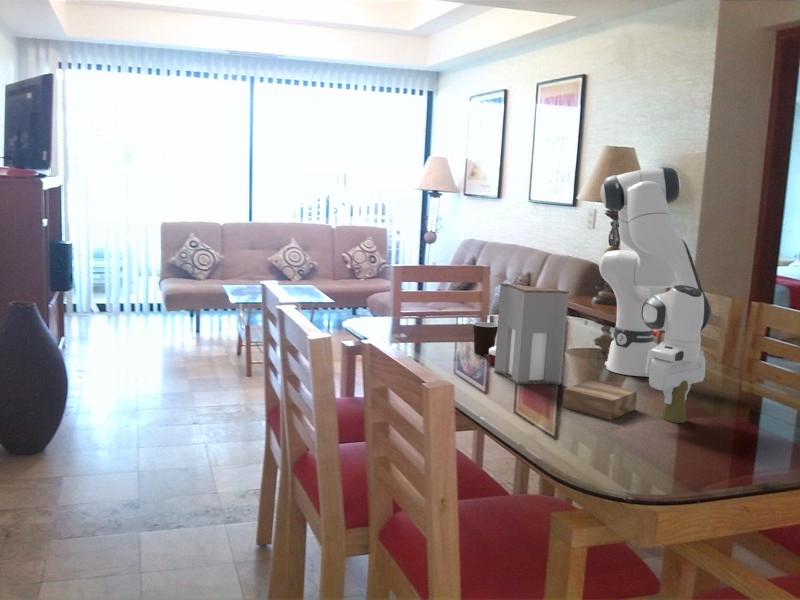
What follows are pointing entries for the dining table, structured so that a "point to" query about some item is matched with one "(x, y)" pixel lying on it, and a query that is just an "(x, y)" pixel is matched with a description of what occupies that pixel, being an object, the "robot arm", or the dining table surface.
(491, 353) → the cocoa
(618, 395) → the wooden block
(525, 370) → the cabinet
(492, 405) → the dining table surface
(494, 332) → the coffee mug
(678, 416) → the cork
